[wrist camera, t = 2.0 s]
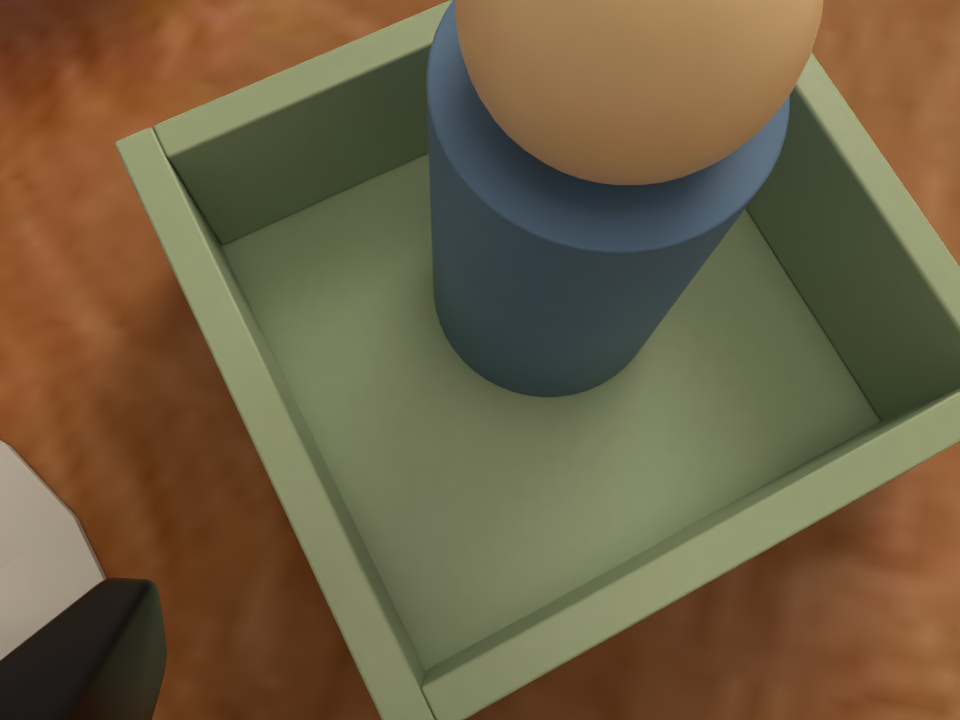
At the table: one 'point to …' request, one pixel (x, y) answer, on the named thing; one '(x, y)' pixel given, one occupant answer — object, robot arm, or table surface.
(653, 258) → the peg doll
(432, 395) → the green square tray
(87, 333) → the table surface
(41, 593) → the dinosaur
